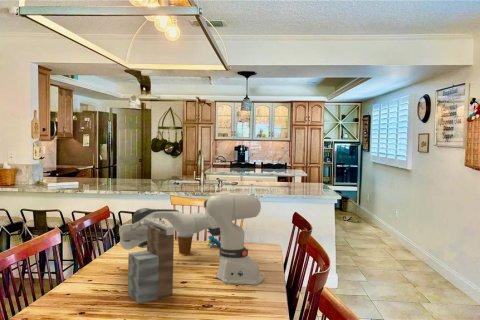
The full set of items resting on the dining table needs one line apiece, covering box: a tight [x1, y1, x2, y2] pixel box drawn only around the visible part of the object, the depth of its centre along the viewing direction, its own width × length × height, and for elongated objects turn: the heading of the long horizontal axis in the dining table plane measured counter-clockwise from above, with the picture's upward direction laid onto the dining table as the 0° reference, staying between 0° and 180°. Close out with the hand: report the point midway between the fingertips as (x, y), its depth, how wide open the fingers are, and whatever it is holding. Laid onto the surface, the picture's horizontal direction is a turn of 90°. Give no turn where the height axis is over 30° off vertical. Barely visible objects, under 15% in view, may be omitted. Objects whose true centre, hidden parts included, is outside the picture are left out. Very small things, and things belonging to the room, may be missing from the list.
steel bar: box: [144, 218, 175, 235], centre depth 153 cm, size 22×3×3 cm, turn 38°
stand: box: [127, 225, 175, 305], centre depth 149 cm, size 11×14×28 cm
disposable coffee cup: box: [176, 232, 195, 255], centre depth 210 cm, size 10×10×12 cm
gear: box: [207, 235, 221, 249], centre depth 223 cm, size 11×6×10 cm
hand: (149, 222), depth 159 cm, fingers open, 8 cm apart
